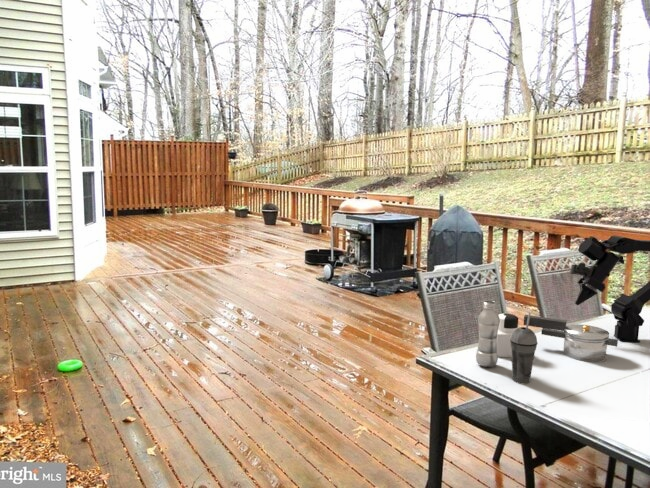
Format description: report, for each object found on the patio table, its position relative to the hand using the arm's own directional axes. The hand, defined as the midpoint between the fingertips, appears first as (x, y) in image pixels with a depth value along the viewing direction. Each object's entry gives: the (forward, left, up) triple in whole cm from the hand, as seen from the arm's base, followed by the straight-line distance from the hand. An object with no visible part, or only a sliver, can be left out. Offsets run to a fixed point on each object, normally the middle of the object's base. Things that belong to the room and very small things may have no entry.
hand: (576, 304), depth 181 cm
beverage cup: (+27, +40, -13) cm, 50 cm away
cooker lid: (+7, +13, -6) cm, 16 cm away
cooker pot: (+3, +15, -13) cm, 20 cm away
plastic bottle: (+35, +30, -13) cm, 48 cm away
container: (+27, +18, -13) cm, 35 cm away
